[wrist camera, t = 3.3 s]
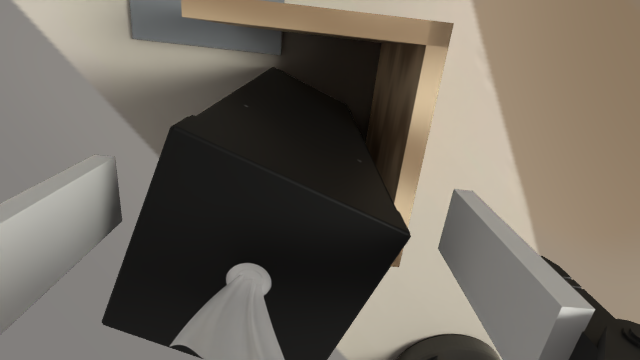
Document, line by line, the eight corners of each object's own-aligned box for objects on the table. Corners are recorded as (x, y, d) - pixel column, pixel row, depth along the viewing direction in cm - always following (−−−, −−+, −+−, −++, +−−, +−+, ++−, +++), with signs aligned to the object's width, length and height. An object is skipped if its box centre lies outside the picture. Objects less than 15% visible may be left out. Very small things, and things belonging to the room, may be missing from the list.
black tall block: (311, 172, 37) (300, 497, 11) (240, 139, 35) (27, 419, 9) (347, 103, 34) (450, 309, 8) (272, 64, 33) (103, 162, 7)
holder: (370, 187, 37) (398, 267, 24) (234, 174, 37) (189, 249, 24) (397, 29, 32) (453, 23, 19) (237, 11, 31) (180, -9, 18)
